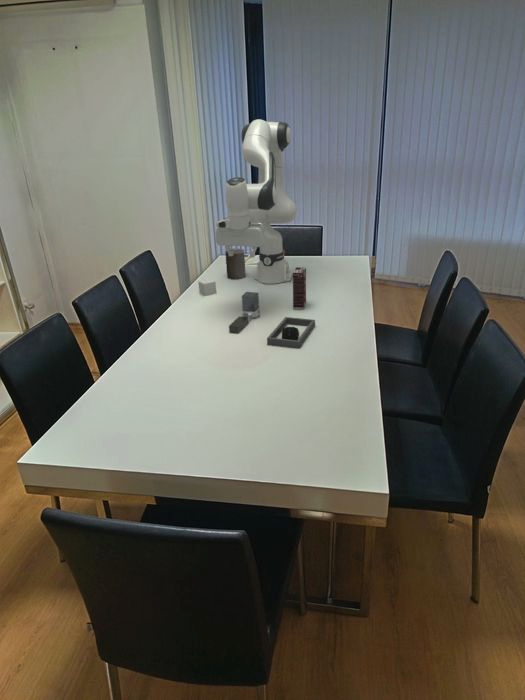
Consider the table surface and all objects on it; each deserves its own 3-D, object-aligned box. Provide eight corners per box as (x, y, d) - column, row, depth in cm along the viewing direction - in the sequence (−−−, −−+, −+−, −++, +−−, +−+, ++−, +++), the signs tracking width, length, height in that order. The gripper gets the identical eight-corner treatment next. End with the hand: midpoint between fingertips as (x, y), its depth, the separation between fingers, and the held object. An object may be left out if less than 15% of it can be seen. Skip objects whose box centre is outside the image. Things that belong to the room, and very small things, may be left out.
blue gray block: (247, 306, 203) (246, 291, 200) (259, 307, 201) (258, 292, 198) (242, 310, 198) (241, 295, 195) (254, 312, 196) (253, 296, 194)
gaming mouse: (280, 348, 173) (279, 338, 171) (282, 331, 186) (282, 322, 184) (297, 348, 172) (297, 338, 170) (299, 331, 185) (298, 321, 183)
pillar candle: (224, 279, 248) (222, 250, 242) (230, 273, 257) (229, 245, 250) (242, 280, 246) (240, 251, 239) (248, 274, 254) (246, 246, 247)
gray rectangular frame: (285, 322, 192) (285, 316, 191) (315, 325, 188) (315, 319, 187) (267, 344, 175) (266, 338, 174) (299, 348, 171) (299, 341, 170)
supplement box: (304, 309, 204) (303, 273, 198) (292, 309, 205) (292, 273, 199) (306, 302, 212) (306, 267, 205) (295, 302, 213) (295, 267, 206)
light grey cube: (216, 293, 229) (215, 281, 226) (205, 296, 226) (203, 284, 223) (210, 290, 233) (209, 278, 231) (199, 293, 231) (198, 281, 228)
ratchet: (246, 312, 205) (246, 298, 202) (262, 313, 203) (261, 300, 200) (225, 332, 187) (224, 317, 184) (242, 334, 185) (241, 319, 182)
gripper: (266, 220, 189) (268, 255, 196) (219, 219, 196) (222, 253, 203) (261, 224, 184) (263, 260, 191) (212, 223, 191) (216, 257, 197)
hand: (241, 256), depth 197 cm, fingers open, 8 cm apart
